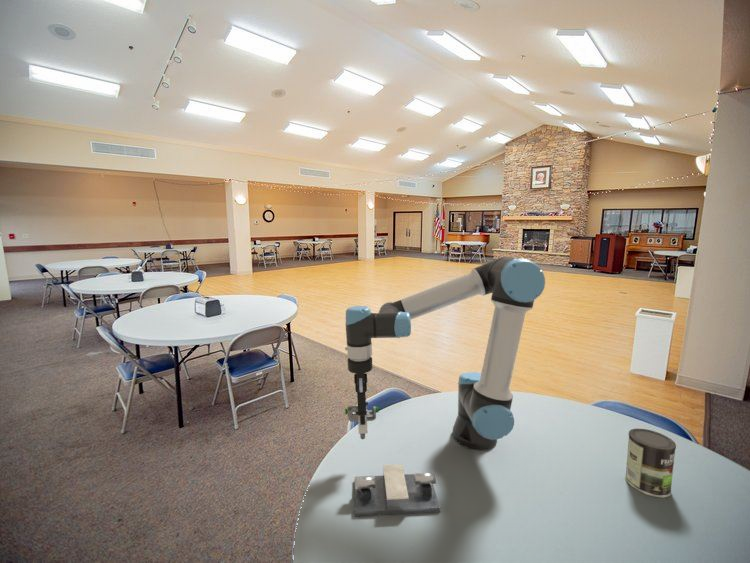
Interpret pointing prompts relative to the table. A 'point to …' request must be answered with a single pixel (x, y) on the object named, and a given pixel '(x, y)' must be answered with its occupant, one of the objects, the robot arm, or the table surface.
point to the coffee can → (650, 462)
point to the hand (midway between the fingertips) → (363, 429)
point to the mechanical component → (354, 418)
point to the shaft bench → (395, 493)
